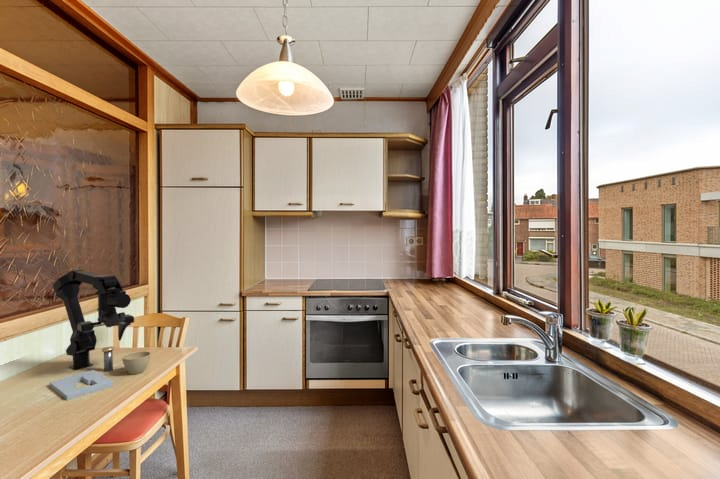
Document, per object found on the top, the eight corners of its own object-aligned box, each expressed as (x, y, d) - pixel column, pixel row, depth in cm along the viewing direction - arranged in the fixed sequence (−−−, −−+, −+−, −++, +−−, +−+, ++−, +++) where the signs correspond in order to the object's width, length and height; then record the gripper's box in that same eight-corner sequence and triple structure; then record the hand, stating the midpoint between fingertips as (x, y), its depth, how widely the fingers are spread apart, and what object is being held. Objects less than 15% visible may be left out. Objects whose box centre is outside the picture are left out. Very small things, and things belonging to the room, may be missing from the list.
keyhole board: (49, 386, 135) (49, 381, 135) (93, 373, 146) (93, 369, 146) (67, 400, 123) (67, 395, 123) (113, 385, 135) (113, 381, 135)
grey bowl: (137, 377, 142) (137, 360, 142) (116, 376, 144) (115, 358, 144) (156, 368, 152) (156, 351, 151) (136, 366, 154) (136, 350, 153)
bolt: (101, 370, 149) (100, 348, 149) (112, 367, 153) (111, 345, 152) (105, 373, 147) (104, 350, 147) (116, 369, 150) (115, 347, 150)
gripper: (85, 313, 136) (86, 353, 136) (139, 304, 151) (139, 341, 151) (76, 308, 143) (77, 347, 143) (128, 301, 158) (129, 336, 158)
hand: (107, 343), depth 149 cm, fingers open, 9 cm apart
